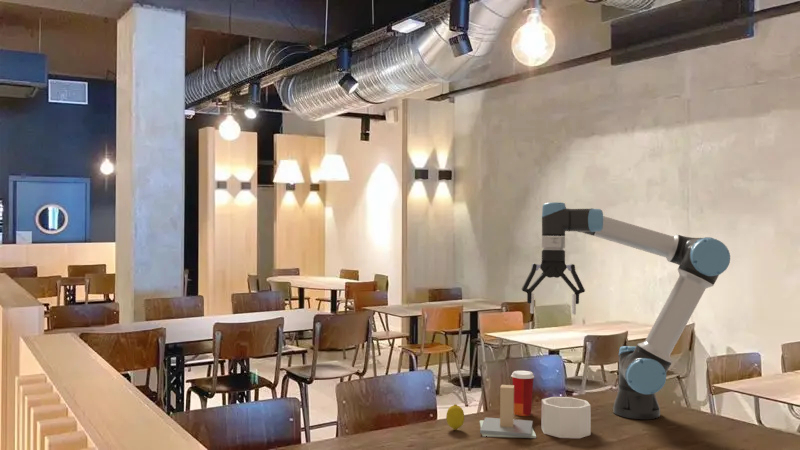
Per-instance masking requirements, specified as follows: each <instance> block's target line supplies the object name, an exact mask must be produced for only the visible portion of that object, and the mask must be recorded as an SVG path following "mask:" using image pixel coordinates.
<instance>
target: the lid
mask: <svg viewBox="0 0 800 450" xmlns="http://www.w3.org/2000/svg"><path fill="white" fill-rule="evenodd" d="M499 389H500V390H499V391H500V393H499V397H500V399H499V402H500V403H499V417H498V418H497V417H496V418H495V417H485V416H484V422H483V424H482V427H480V429H479V434H481V435H482V434H495V435H509V436H522V437H531V431H532V428H533V424H534V423H533V422H534V421H533V420H528V419H526V420H525V419H515V414H514V385H513V384H501V385H500V388H499Z"/></svg>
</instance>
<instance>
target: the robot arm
mask: <svg viewBox="0 0 800 450" xmlns="http://www.w3.org/2000/svg"><path fill="white" fill-rule="evenodd" d="M541 210H542V211H541V248H542V250H541V263H540V264H537V263H532V264H531V270H530V272H529V274H528V276H527V278H526V280H524V284H523V285H522V288H521V290H522V292H524V293H526V296H527V297H526V298H527V299H526V300H527V301H526V302H527V304H530V307H529V309H530V311H529V313H530V314H532V315H534V313H535V312H534V311H535V310H534V308H535V293H534V292H533V291H535V289H536V288H537V287H538V286H539V285H541V282H542V281H543V280H544V279H545V278H546V277H547V278H557V279H558V278H561V279H562V280H563V281H564V282H565V284H566V285H567V286H568V287H569V289H571V291H573V293H572V294H571V314H572V315H575V316H576V315H577V312H576V311H577V310H576V309H577V305H579V303H580V294H582V293H585V292H586V289H585V287H584V285H583V284H582V281H581V279H580V277H579V276H578V273H577V271H576V265H575V264H574V263H570V264H567V263H566V250H564V249H565V248H566V232H576V233H577V232H578V233H583V234H585V235H589V236H593V237H596V238H600V239H604V240H606V241H609V242H613V243H616V244H619V245H623V246H627V247H630V248H632V249H636V250H640V251H643V252H647V253H650V254H653V255H656V256H659V257H663V258H665V259H666V261H667V262H669V263H673V264H674V265H675V264H676V265H677V266H678V268H677V271H678V275H679V276H678V278H677V281H676V282H675V284H674V286H673V288H672V290H671V291H670V293H669V295H668V297H667V299H666V301H665V302H664V304H663V307H662V308H661V310H660V312H659V313H658V316H657V317H656V319H655V321H654V323H653V325H652V327H651V329H650V331H649V332H648V335H647V336H646V338H645V340H644V341H642V342H638V343H637V344H636V346H635V345H634V346H632V345H630V346H629V345H628V346H627V345H622V346H620V347H619V352H618V390H617V393H616V396H615V400H614V403H613V410H612V411H613V414H615V415H617V416H620V417H623V418H626V419H632V420H633V419H634V420H655V418H656V419H659V418H660V417H661V408H660V405H659V402H658V399H657V395H656V393H658V392H659V391H661V390H662V389H663V387H664V386H665V384H666V381H667V373H668V371H669V369H670V367H671V365H672V363H673V360H672V358H671V354H672V352H673V350H674V348H675V346H676V345H677V343H678V342H679V339H680V337H681V335H682V334H683V332H684V330H685V328H686V326H687V324H688V323H689V320H690V318H691V317H692V315H693V313H694V311H695V310H696V308H697V306H698V304H699V302H700V301H701V298H702V296H703V294H704V293H705V291H706V289H708V288H711V287H714V286H715V283H716V282H717V279H718V278H719V276H720V275H721V274H723V273H724V272H726V271H727V269H728V267H729V265H730V263H731V254H730V250H729V248H728V246H726V244H725V243H724V242H722V241H721V240H719V239H717V238H713V237H708V236H707V237H706V236H705V237H689V236H684V235H680V234H675V235H670V234H666V233H663V232H660V231H655V230H652V229H650V228H649V229H648V228H645V227H642V226H638V225H635V224H631V223H629V222H625V221H621V220H618V219H616V218H610V217H607V216H604V212H603V210H602V209H601V208H567V206H566V203H564V202H553V201H552V202H546V203H545V202H544V204H542V209H541ZM539 269H540V270H541V271H542V272H541V274H540V275H539V277H538V278H536V280H535V281H533V283H532V285H531V286H530V284H531V282H532V280H533V278H534V276H535V274H536V271H539ZM566 270H568V271H569V272H570V274H571V276H572V278H573V280H574V282H575V284H576V286H577V287H576V286H575V285H574V283H573V282H572V281H571V280H570V279H569V278H568V276H567V275H566V274H565V273H564V272H565V271H566ZM528 287H529V288H528ZM577 288H578V289H577ZM658 417H659V418H658Z"/></svg>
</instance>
